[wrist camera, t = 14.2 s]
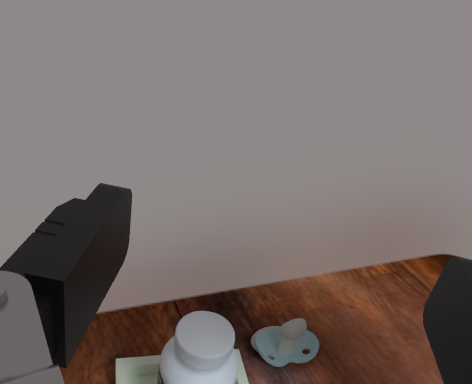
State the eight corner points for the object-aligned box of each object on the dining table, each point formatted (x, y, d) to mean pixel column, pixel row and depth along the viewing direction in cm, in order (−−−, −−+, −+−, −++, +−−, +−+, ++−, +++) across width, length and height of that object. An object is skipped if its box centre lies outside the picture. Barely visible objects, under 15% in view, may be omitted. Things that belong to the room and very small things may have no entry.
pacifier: (240, 335, 51) (260, 377, 46) (250, 293, 48) (271, 334, 43) (296, 326, 54) (320, 366, 49) (308, 286, 51) (335, 324, 46)
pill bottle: (149, 393, 42) (160, 302, 36) (216, 387, 43) (236, 300, 38) (153, 464, 36) (167, 370, 30) (229, 454, 38) (255, 363, 32)
